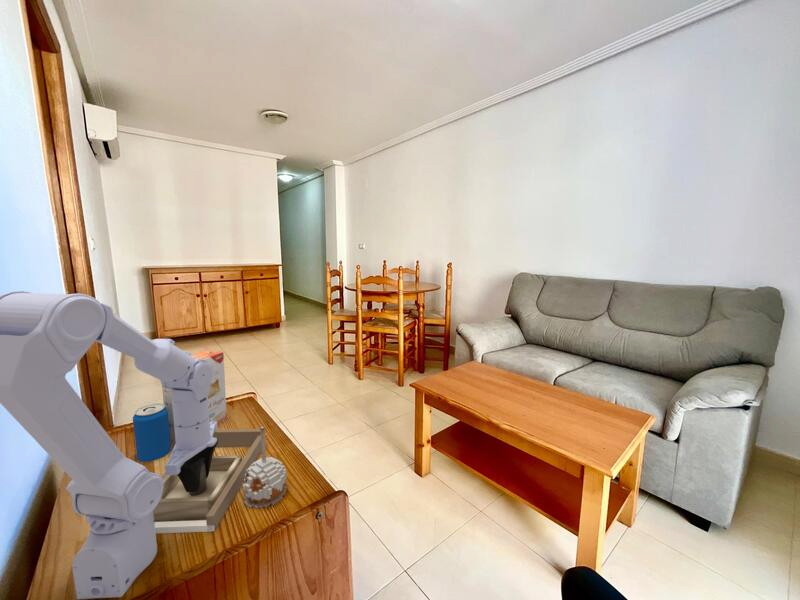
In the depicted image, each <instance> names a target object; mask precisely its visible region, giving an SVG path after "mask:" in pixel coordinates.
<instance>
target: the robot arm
mask: <svg viewBox="0 0 800 600" xmlns="http://www.w3.org/2000/svg"><path fill="white" fill-rule="evenodd" d="M95 342H97V343H99V344H101V345H102V346H105V347H107V348H110V349H113V350H114V351H116V352H119V353H122V354H124V355H126V356H128V357H130V358H134V359H133V360H134V366H135V368H136V369H137V370H139V371H140V372H143V373H145V374H147V375H149V376H151V377H153V378H155V379H157V380H159V381H160V383H161V387H162V386H163V387H164V388H171V397H172V408H173V419H174V430H175V440H176V444H174V447H173V448H172V450H171V451H172V452H171V453H170V457H169V459H168V461H166V463H165V464H164V471H165V472H164V473H166V475H177V476H178V477H179V478H180V480H181V482H182V484H183V486H184V488H185V490H186V492H197V491H198V489H199V486H200V472H201V467H202V464H203V462H204V463H205V471H206V479H207V477H208V475H209V471H210V465H211V460H212V456H214V453H215V450H216V448H217V447H216V446H217V444H218V439H217V438H213V434H214V432H216V431H217V430H219V428H218V425H217V422H210V421H209V407H208V395H209V392H210V384H211V381H212V378H213V372H214V370H213V369H212V368H211V366H210V364H208V362H207V361H205V360H202V359H194V358H193V357H192V356H191V355H192V353H191V352H190V351H186V350H185V351H184V350H183V349H180V348H179V347H177V346H176V345H175V343H176V341H174V340H173V339H171V338H155V339H151V338H149V337H148V336H146V335H144V334H143V332H141V331H139V330H138V329H136V328H135V327H133V326H132V325H131V324H129V323H128V322H127V321H125V320H124V319H122V318H121V317H119V316H118V315H117V314H115V313H114V312H113V308H112V306H109V305H108V304H104V303H102V302H100V301H99V300H98V299H96V298H95V297H94V296H91V295H89V294H85V293H70V294H69V293H68V294H66V293H64V294H62V293H41V292H40V293H38V292H30V291H22V290H21V291H20V290H19V291H18V290H16V291H15V290H14V291H13V290H12V291H8V292H5V293H1V294H0V405H1V406H2V407H3V408H4V409H5V410H6V411H7V412H8V413H9V414H10V415H11V416H12V417H13V418H14V419H15V420H16V422H17V423H19V425H20V426H21V427H22V428H23V429H24V430H25V431H26V432H27V433H28V434H29V435H30V436H31V438H33V440H35V442H36V443H37V444H38V445H39V446H40V447H41V448H42V449H43V450H44V451H45V452H46V453H47V454H48V455H49V456H50V457H51V458H52V459H53V461H54V462H55V463H56V464H57V465H58V466H59V467H60V468H61V469H62V470H63V471H64V472H65V473H66V474H67V475H68V476H69V478H70V479H71V480H70V481H69V483H68V485H66V487H65V489H66V491H67V492H68V493H69V494H70V496H71V505H72V509H73V511H74V512H75V513H76V514H78V515H82V516H85V519H86V524H89V533H88V535H87V538H86V541H85V542H84V544H83V545H82V547H81V548H80V549H79V551H78V552H77V553H76V554H75V556H74V558H73V559H72V563H71V570H72V575H73V583H74V589H75V595H76V600H86V599H87V600H88V599H107V598H112V599H113V598H121V597H122V598H123V596H124V595H125V593H126V592H127V591H128V589H129V588H130V586H131V585H132V584H133V582H134V581H135V580H136V579H137V577H138V576H139V575H140V574H141V573H143V571H144V570H146V568H147V567H149V566H150V565H151V564H152V562H153V561H154V559H155V558H156V555H157V553H158V543H157V534H156V532H155V523H154V522H155V520H154V514H153V510H154V509H155V507H156V506H157V505H158V503H159V501H160V499H161V497H162V494H163V488H164V482H163V478H162V475H161V474H159V473H158V472H157V473H156V472H150V471H149V469H147V468H146V466H144V465H142V464H141V463H139V462H136V461H135V460H132V459H130V458H128V457H127V456H125V454H123V453H122V451H121V449H119V448H118V445H116V443H115V442H114V440H113V439H112V438H111V437H110V435H109V434H108V432H106V430H105V429H104V427H103V426H102V425H101V424H100V422H99V421H98V419H97V418H96V417H95V416H94V414H93V413H92V411H90V409H89V407H87V405H86V403H84V401H83V399H81V397H80V396H79V395H78V393H77V392H76V390H75V389H74V388H73V387H72V385H71V384H70V383H69V381H68V379H66V375H67V374H68V373H70V372H71V371H73V370H74V368H75V367H76V366H77V364H78V363H79V362H80V361H81V359H82V358H83V357H84V356H85V354H86V353H87V352H88V350H89V349H90V348H91V346H92V345H93V344H94V343H95Z"/></svg>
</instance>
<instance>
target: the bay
mask: <svg viewBox="0 0 800 600" xmlns="http://www.w3.org/2000/svg"><path fill="white" fill-rule="evenodd" d="M213 438H217V439H218V444H217V446H216V448H243V447H244V448H249V449H248V450H247V452H246V454H245V455H244V457H242V461H241V463H240V464H239V466H238V468H237V469H236V471H235V472H234V474H233V475H232V477H231V478H230V480H229V481H228V483H227V485H226V486H225V488H224V489H223V491H222V492H221V494H220V495H219V497H218V499H217V500H216V502H215V503H214V505H213V506H212V508H211V509H210V511H209V512H208V514H207V516H206V519H197V520H178V521H177V520H173V521H172V520H169V521H154V523H155V532H156V535H157V534H175V533H176V534H179V533H182V534H183V533H184V534H185V533H205V532H206V533H208V532H215V531H216V530H217V527H218V526H219V525H220V523H221V521H222V519H223V517H224V516H225V514H226V512H227V511H228V509H229V507H230V506H231V504H232V502H233V500H235V499H234V498H235V497H236V495H237V493H238V492H239V490H240V489H241V486H243V484H244V479H245V474H246V470H247V468H249V467H250V466H251V464H253V462H255V461H257V460H258V457H259V456H260V455H261V454H260V453H262V452H261V432H260V428H240V429H239V428H238V429H237V428H235V429H229V428H228V429H227V428H226V429H218V430H217V431H216V432H214V434H213ZM166 476H167V475H166V473H165V472H164V473H163V475H161V477H162V478H163V479H164V478H165V477H166Z"/></svg>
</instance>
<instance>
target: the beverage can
mask: <svg viewBox="0 0 800 600" xmlns="http://www.w3.org/2000/svg"><path fill="white" fill-rule="evenodd" d="M132 423H133V433H134V441H135V450H136V457H137V458H136V460H138V462H142V463H148V462H153V461H157V460H160V459H162V458H163V457H165V456H167V455H169V453H170V452H171V451H172V444H171V440H170V429H169V419H168V410H167V408H165V405H164V403H149V404H145V405H143V406H140V407H139V408H137V409H135V411H134V414H133V416H132Z"/></svg>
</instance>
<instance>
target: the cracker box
mask: <svg viewBox="0 0 800 600" xmlns="http://www.w3.org/2000/svg"><path fill="white" fill-rule="evenodd" d="M191 356H192V357H193V358H194V359H202V360H205V361H207V362H208V364H210V366H211V368H212V369H213V370H214V372H213V378H212V381H211V384H210V392H209V395H208V407H209V421H210V422H217V426H219V425H220V424H222V423H223V422H225V421H226V420H228V419H227V418H228V417H227V400H226V399H227V398H226V396H227V395H226V380H225V379H226V377H225V360H224V359H225V357H224V351H220V350H219V351H218V350H211V349H209V350H208V349H207V350H203V351H200V352H198V353H195V354H191ZM161 388H162V389H161V390H162V391H161V392H162V401H163V403H162V404H164V405H165V408H167V410H168V419H169V429H170V440H171V445H175V444H176V440H175V430H174V419H173V408H172V397H171V388H164V387H163V386H162V385H161Z"/></svg>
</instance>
